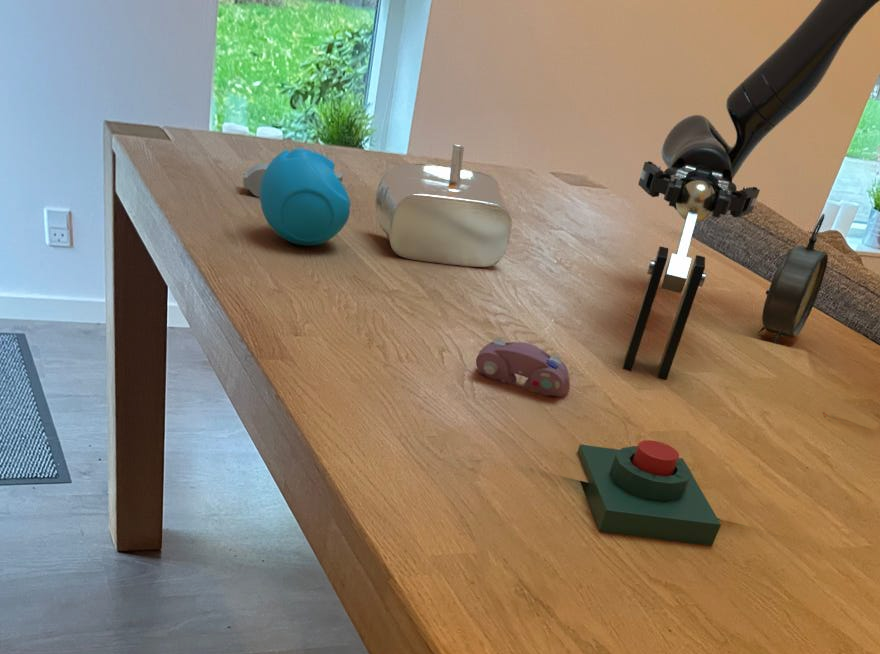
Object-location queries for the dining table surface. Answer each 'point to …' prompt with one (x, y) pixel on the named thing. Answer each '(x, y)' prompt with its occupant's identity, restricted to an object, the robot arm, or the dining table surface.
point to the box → (645, 499)
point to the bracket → (681, 317)
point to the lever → (688, 230)
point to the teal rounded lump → (303, 197)
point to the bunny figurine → (255, 176)
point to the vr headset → (444, 214)
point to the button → (655, 458)
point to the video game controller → (524, 367)
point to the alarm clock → (794, 289)
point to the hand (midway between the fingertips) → (697, 201)
